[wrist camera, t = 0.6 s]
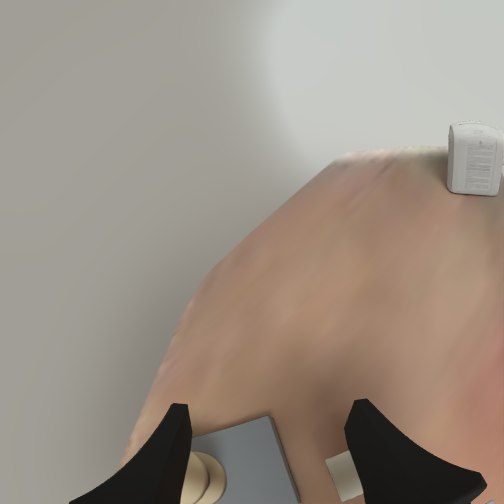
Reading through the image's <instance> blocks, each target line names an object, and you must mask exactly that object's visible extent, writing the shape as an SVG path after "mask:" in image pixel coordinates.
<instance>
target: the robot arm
mask: <svg viewBox="0 0 504 504" xmlns="http://www.w3.org/2000/svg"><path fill="white" fill-rule="evenodd" d="M344 430H345V435H346V440H347V445H348V448H349V451H350V454H351V457H352V460H353V462H354V465H355V468H356V471H357V474H358V476H359V479H360V482H361V485H362V489H363V493H364V498H365V503H366V504H471V503H470V502H472V501H473V500H474V499H475V498H476V497H477V496H479V495H480V494H481V493H482V492H483V491H484V490H485V489H486V487H487V483H486V482H485V480H484V478H483V477H482V475H481V473H479V472H475V471H471V470H468V469H464V468H461V467H459V466H456V465H453V464H451V463H449V462H446V461H444V460H442V459H440V458H438V457H436V456H434V455H433V454H431V453H429V452H428V451H426V450H425V449H423V448H422V447H420V446H418V445H417V444H416V443H414V442H413V441H412V440H410V439H409V438H408V437H407V436H405V435H404V434H403V433H402V432H401V431H400V430H399V429H397V428H396V427H395V426H394V425H393V424H392V423H391V422H390V421H389V420H388V419H387V418H386V417H385V416H384V415H383V414H382V413H381V412H380V411H379V410H378V409H377V408H376V407H375V406H374V405H373V404H372V403H371V402H370V401H369V400H368V399H367V398H366V399H360V400H354V403H353V406H352V409H351V411H350V414H349V417H348V419H347V422H346V424H345V427H344ZM191 443H192V427H191V422H190V416H189V410H188V404H178V403H173V404H171V406H170V408H169V410H168V411H167V413H166V415H165V416H164V418H163V420H162V421H161V423H160V424H159V426H158V427H157V428H156V430H155V431H154V433H153V434H152V435H151V437H150V438H149V439H148V441H147V442H146V443H145V444H144V445H143V447H142V448H141V449H140V450H139V451H138V452H137V454H136V455H135V456H134V457H133V458H132V459H131V460H130V461H129V462H128V463H127V464H126V465H125V466H124V467H123V468H121V469H120V470H119V471H118V472H117V473H115V474H114V475H113V476H112V477H111V478H110V479H108V480H107V481H105V482H104V483H102V484H101V485H99V486H98V487H96V488H95V489H93V490H92V491H90V492H88V493H86V494H85V495H82V496H80V497H78V498H76V499H75V500H72V501H70V502H69V504H180V503H181V495H182V489H183V484H184V480H185V475H186V471H187V466H188V462H189V457H190V452H191ZM486 504H495V503H494V502H493V500H491V501H489V502H488V503H486Z"/></svg>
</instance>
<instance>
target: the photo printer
mask: <svg viewBox="0 0 504 504" xmlns="http://www.w3.org/2000/svg"><path fill="white" fill-rule="evenodd" d="M503 156H504V135H503V132H502V131H501V130H500V129H499V128H497V127H495V126H493V125H490V124H487V123H484V122H478V121H465V122H459V123H455V124H452V125H451V126H450V131H449V149H448V176H447V188H448V189H449V190H450V191H451V192H454V193H461V194H475V195H487V196H496V195H497V194H498V189H499V184H500V178H501V171H502V164H503Z"/></svg>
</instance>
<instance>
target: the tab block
mask: <svg viewBox="0 0 504 504" xmlns="http://www.w3.org/2000/svg"><path fill="white" fill-rule="evenodd" d="M325 461H326V464H327V466H328V469H329V471H330V474H331V476H332V479H333V481H334V484H335V486H336V489H337V491H338V494H339V496H340V499H341V501H342V502H344V501H346V500H349V499H351V498H354V497H356V496H359V495H361V494H363V489H362V485H361V482H360V479H359V476H358V474H357V471H356V468H355V465H354V462H353V460H352V457H351V454H350V451H349V450H348V451H346V452H343V453H341V454H339V455H336V456H334V457H331V458H329V459H327V460H325Z"/></svg>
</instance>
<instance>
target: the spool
mask: <svg viewBox="0 0 504 504" xmlns="http://www.w3.org/2000/svg"><path fill="white" fill-rule="evenodd" d="M226 487H227V476H226V472H225V470H224V468H223V466H222V465H221V464H220V462H219V461H218V460H216V459H215V458H214V457H212V456H210V455H208V454H205V453H201V452H193V451H191V452H190V457H189V462H188V466H187V471H186V475H185V480H184V484H183V489H182V495H181V503H180V504H214V503H216V502H217V501H219V500H220V499H221V497H222V496H223V495H224V493H225V490H226Z"/></svg>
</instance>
